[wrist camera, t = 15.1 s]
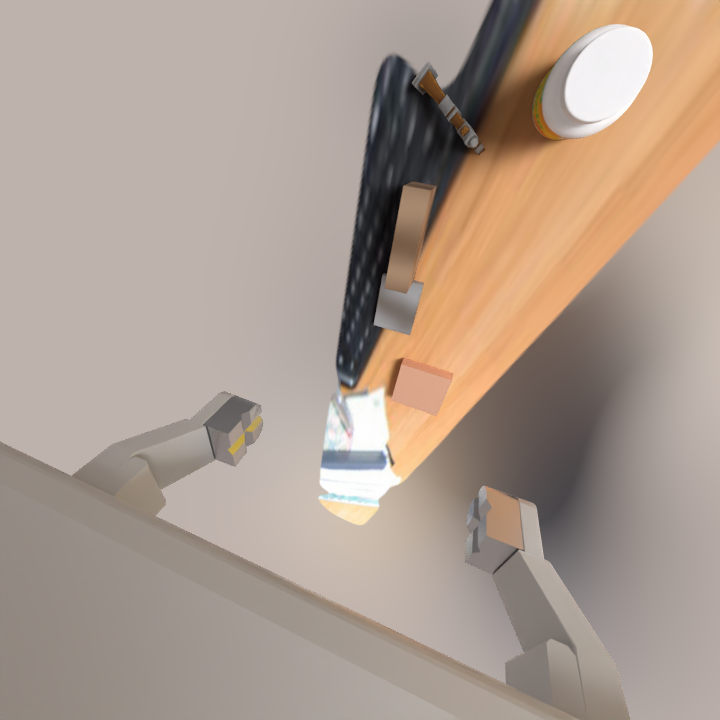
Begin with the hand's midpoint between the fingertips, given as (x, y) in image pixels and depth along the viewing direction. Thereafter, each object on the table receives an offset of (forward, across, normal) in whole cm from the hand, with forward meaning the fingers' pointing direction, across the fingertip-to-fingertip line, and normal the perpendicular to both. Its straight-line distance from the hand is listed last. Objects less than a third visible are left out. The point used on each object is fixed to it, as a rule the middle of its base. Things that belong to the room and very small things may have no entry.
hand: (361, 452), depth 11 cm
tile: (+28, -2, +16) cm, 33 cm away
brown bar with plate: (+29, +4, +3) cm, 30 cm away
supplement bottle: (+29, -6, -13) cm, 33 cm away
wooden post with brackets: (+30, +3, -11) cm, 32 cm away
